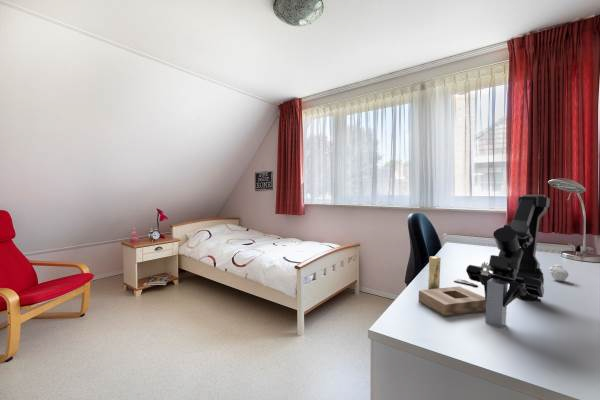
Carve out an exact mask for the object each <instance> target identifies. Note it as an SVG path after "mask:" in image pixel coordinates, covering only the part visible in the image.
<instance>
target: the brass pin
mask: <svg viewBox="0 0 600 400" xmlns="http://www.w3.org/2000/svg"><path fill="white" fill-rule="evenodd" d="M428 258H429V260H428V262H429V263H428V284H427V285H428V286H427V287H428V289H438V288H440V282H441V281H440V280H441V257H440V256H433V255H432V256H431V255H430V256H428ZM428 289H427V290H428Z"/></svg>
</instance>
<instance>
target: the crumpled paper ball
mask: <svg viewBox="0 0 600 400" xmlns="http://www.w3.org/2000/svg"><path fill="white" fill-rule="evenodd" d="M548 271H549V273H550V275H551V277H552V279H554V280H555V281H558V282H564V281H566V280H567V278H568V277H569V276H570V274H569V272H568V271H567V269H566V268H564V267H563V266H562V265H560V264H552V265H551V266H549V269H548Z"/></svg>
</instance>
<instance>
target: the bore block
mask: <svg viewBox="0 0 600 400" xmlns="http://www.w3.org/2000/svg"><path fill="white" fill-rule="evenodd" d="M418 302H419V303H420V304H422V305H423V306H425V307H427V308H429V309H430V310H432V311H434V312H435V313H437V314H439V315H440V316H442V317H444V318H447V317H455V316H456V317H457V316H461V315H470V314H478V313H486V300H485V296H483V295H480V294H478V293H476V292H474V291H472V290H469V289H467V288H464V287H462V286H451V287H439V288H438V289H419V290H418Z"/></svg>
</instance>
